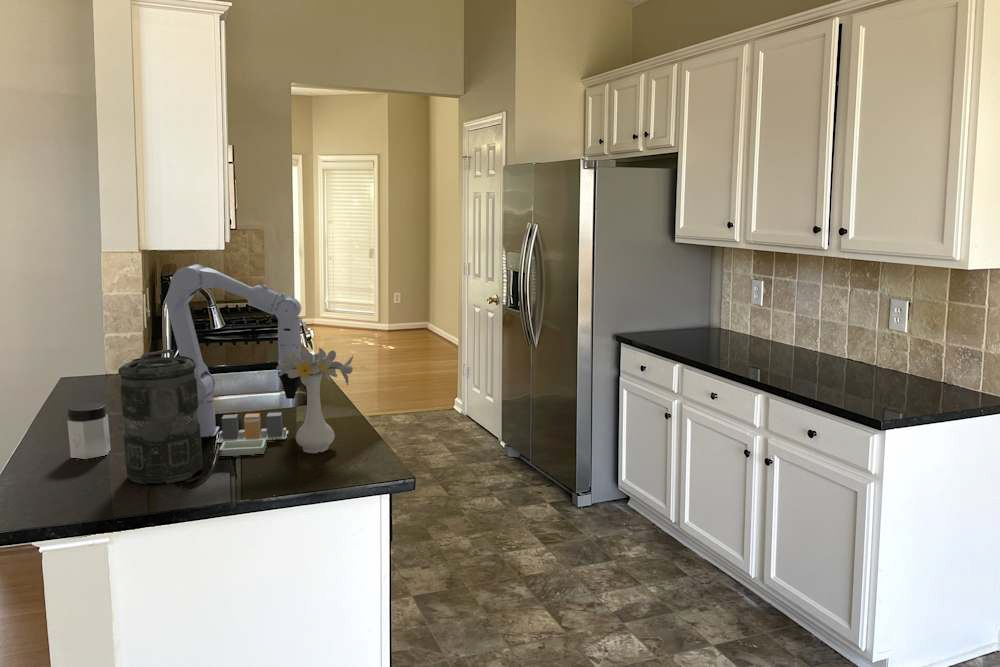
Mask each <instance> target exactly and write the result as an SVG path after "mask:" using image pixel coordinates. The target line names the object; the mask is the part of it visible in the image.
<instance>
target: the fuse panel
mask: <svg viewBox="0 0 1000 667" xmlns="http://www.w3.org/2000/svg"><path fill="white" fill-rule="evenodd" d="M287 434H288V435H289V430H287V427H284V425H283V413H282V411H281V412H267V414H266V428H261V435H260V438H245V429H240V427H239V414H238V413H237V414H223V415H222V417H221V430H220V431H219V432H218V438H217V441H216V444H217V443H223V442H224V441H237V440H257V439H266V440H272V439H273V440H275V439H286V438H287V439H288V436H287Z"/></svg>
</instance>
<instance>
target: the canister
mask: <svg viewBox="0 0 1000 667" xmlns="http://www.w3.org/2000/svg"><path fill="white" fill-rule="evenodd" d="M168 353H169V356H163V357H162V356H161V357H160V356H159V357H158V356H157V355H160V354H161V355H162V354H168ZM155 355H156V356H155ZM195 368H196V363H195V362H194V361H193V359H191V358H189V357H184V356H180V355H175V356H174V353H173V350H171V349H164V350H163V349H162V350H158V351H151V352H147V353H143V354H142V355H141V356H140V357H139V358H134V359H132V360H131V361H128V362H126V363H125V364H123V365H122V366H120V367H119V368H118V369H117V372H118V374H119V375H120V398H121V411H122V412H121V413H122V416H123V421H124V435H123V447H124V459H125V469H126V475H127V478H128V479H129V480H130V481H131V482H133V483H135V484H138V485H139V484H140V485H145V484H146V485H148V484H163V483H165V484H166V485H168V484H174V483H179V482H181V481H185V480H189V479H191V478H192V477H193V476H194V474H196V473H197V472H199V471H200V470H201V469H202V468H203V450H202V437H201V432H200V423H199V422H198V416H197V408H198V395H197V380H196V378H195V372H194V369H195ZM146 485H145V486H146Z"/></svg>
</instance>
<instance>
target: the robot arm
mask: <svg viewBox="0 0 1000 667" xmlns="http://www.w3.org/2000/svg"><path fill="white" fill-rule="evenodd" d="M210 288H211V289H212V288H217V289H221V290H223V291H225V292H229V293H230V294H233V295H236V296H239V297H241V298H244V299H246V301H247V302H248V305H249V306H250V307H252V308H255V309H258V310H260V311H263V312H264V313H267V314H270V315H274V316H275V317H276V318H277V340H278V341H277V342H278V361H277V362H278V363H277V364H278V365H280V364H282V363H286V361H285V355H286V353H287V352H288V351H289V352H290V355H291V358H292V354H293V352H294V351H296V355H295V357H298V358H299V359H301V356H300V352H301V349H302V337H301V333H302V332H301V325H300V324H301V323H300V322H301V321H300V320H301V319H300V316H299V315H300V313H301V311H302V306H301V305H302V304H301V303H300V301H299V300H298V299H297V298H294V296H286V293H284V292H282V293H280V292H277V291H274V290H272V289H269V285H266V284H263V285H260V284H258V285H255V286H250V285H248V284H246V283H244V282H242V281H239V280H237V279H235V278H233V277H231V276H228V275H227V274H225V273H222V272H220V271H218V270H216V269H213V268H211V267H205V266H203V265H201V264H196V263H195V264H191V265H189V266H184V267H181V268H179V269H178V270H177V271H176V272H175V273H174V274H173V275H172V276H171V278H170V284H169V287H168V291H167V294H166V296H165V305H166V309H167V313H168V316H169V320H170V324H171V325H170V326H171V328H172V331H173V336H174V340H175V343H176V348H177V351H178V354H179V355H178V356H184V357H189V358H191V359H193V361H194V362H195V363H196V368H195V369H194V372H195V378H196V380H197V395H198V408H197V416H198V422H199V423H200V432H201V438H209V436H211V437H215V436H217V433H219V430H220V428H221V427H220V426H216V410H215V397H214V396H213V395H214V394H212V392H213V391H214V390H215V387H216V380H215V378H214V377H213V375H212V374H211V373H210V372H209V368H208V366H207V364H206V363H205V362H204V360H203V356H202V352H201V348H200V345H199V341H198V340H199V339H198V336H197V332H196V329H195V326H194V321H193V318H192V313H191V309H190V305H189V303H190V302H191V300H192V299H193V298H194V296H195V295H196V293H197V292H199V291H200V290H203V289H210ZM293 369H294V368H293ZM293 369H291V370H289V371H287V372H285V373H284V374H282V375H281V376H280V377H278V378H279V380H280V381H281V384H282V387H283V391H284V395H285V398H286V399H287V400H288V399H289V400H292V399H296V394H297V390H298V388H299V387H298V386H299V379H300V376H298V377H296V378H289V377H288V374H289V372H290V371H292V370H293ZM280 372H281V371H278V372H277V376H278V375H279V373H280Z"/></svg>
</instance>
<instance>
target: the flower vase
mask: <svg viewBox="0 0 1000 667" xmlns="http://www.w3.org/2000/svg"><path fill="white" fill-rule="evenodd" d="M295 355H296V351H294V352H293V354H292V358H291V355H290V352H289V351H288V352H287V353H286V355H285V361H286V363H282V364H280V365H279V364H278V365H277V366H276V367H275V370H276V371H279V372H280V373H279V375H278V374H277V377H278V378H279V377H280V376H281V375H282V374H284V373H285V372H287V371H289V370H291V369H293V368H294V369H293V370H292V371H290V372H289V374H288V377H289V378H296V377H298V376H299V378H300V380H301V383H302V384H303V385H304V386H306V387H305V388H306V394H307V396H306V398H307V399H306V402H307V404H306V406H307V407H306V416H305V419H304V421H303V424H302V425H301V427H299V428H298V430H297V432H296V434H295V441H296V443H297V445H299V446H300V447H302V451H303V452H304V453H306V452H307V453H306V454H319V453H318V452H321V453H324V451H325V452H326V450H327V451H328V450H329V449H330V446H329V445H331V444H332V443H333V442H334V440H335V437H336V435H335V431H334V430H333V429H332V428H333V427H331V426H330V424H328V423H327V422H326V421H325V419H324V416H323V412H322V408H321V407H322V406H321V397H320V395H321V394H320V393H321V392H320V388H321V380H322V377H323V376H324V377H325V378H326V379H327V380H329V381H331V380H332V379H331V377H335V378H337V377H338V374H337V370H340V373H341V375H342V376H343V379H344V381H345V383H346V385H347V386H349V375H351V373H352V372H353V369H354V368H353V366H352V365H351V364H352V361H353V359H354V355H351V356H350V358H349V359H348V360H347V361H346V362H345V363H344V364H343V363H341V362H339V361H336V360H335V359H336V357H337V353H336V351H335V350H333V349H332V350H330V351H329V352H328V353H326V351H325V350H324V349H323V348H321V347H320V348H318V353H314V354H312V353H309V351H308V350H307V348H301V352H300V356H301V359H299V358H298V357H295Z"/></svg>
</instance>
